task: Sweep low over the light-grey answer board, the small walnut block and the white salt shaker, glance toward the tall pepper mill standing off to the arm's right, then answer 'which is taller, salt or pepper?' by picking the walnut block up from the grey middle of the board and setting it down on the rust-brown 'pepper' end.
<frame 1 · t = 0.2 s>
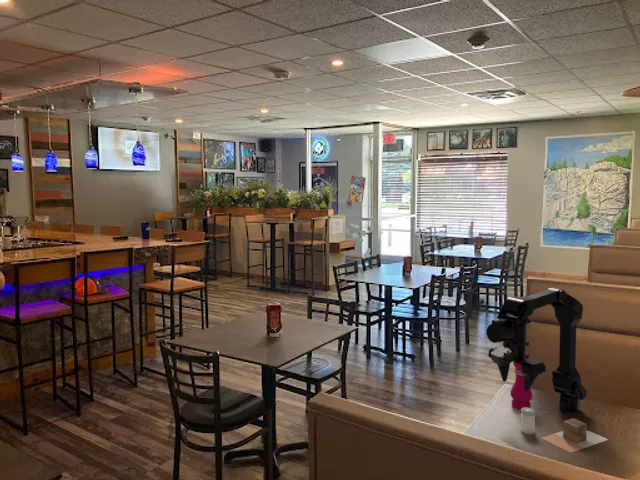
hand: (515, 386, 157), 14 cm above the table, tool pointing down, fingers open, 9 cm apart
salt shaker: (527, 434, 155), on the table
block: (574, 438, 150), point 1 cm above the table, touching answer board
answer board: (574, 442, 150), on the table
pepper mill: (521, 407, 177), on the table
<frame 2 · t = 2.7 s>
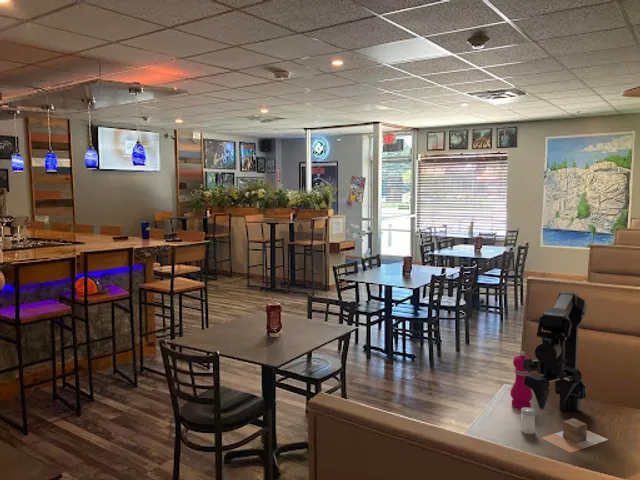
hand: (552, 405, 149), 12 cm above the table, tool pointing down, fingers open, 9 cm apart
nothing on the table moved.
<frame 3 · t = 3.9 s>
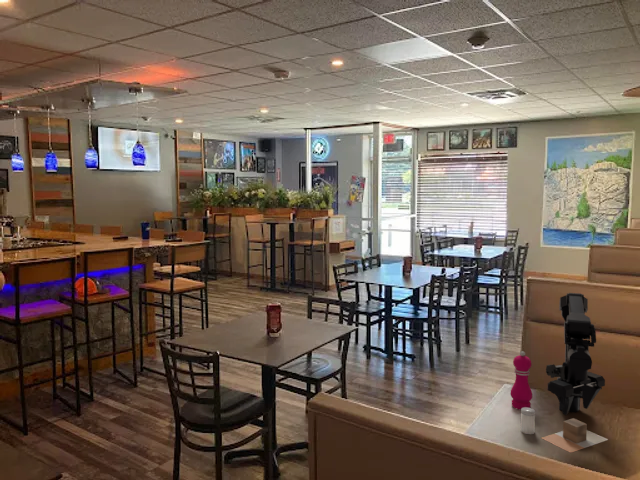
hand: (575, 411, 150), 10 cm above the table, tool pointing down, fingers open, 9 cm apart
nothing on the table moved.
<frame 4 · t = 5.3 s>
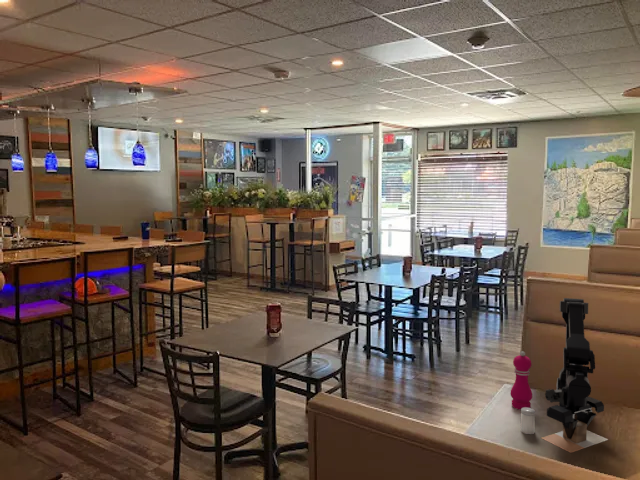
hand: (574, 436, 150), 2 cm above the table, tool pointing down, fingers closed on block, 4 cm apart
block: (574, 438, 150), point 1 cm above the table, touching answer board, gripper
everything else where it was.
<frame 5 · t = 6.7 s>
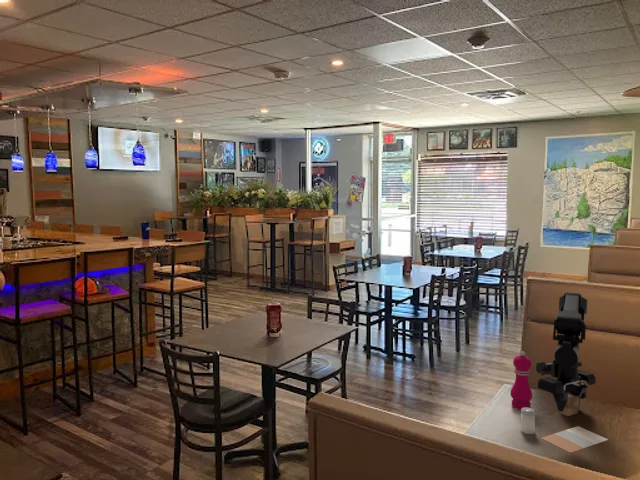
hand: (565, 409, 147), 11 cm above the table, tool pointing down, fingers closed on block, 4 cm apart
block: (565, 411, 147), point 11 cm above the table, touching gripper
everything else where it was.
when the fingers open (3 cm above the table, at t = 8.5 s): block drops 2 cm, resting on answer board.
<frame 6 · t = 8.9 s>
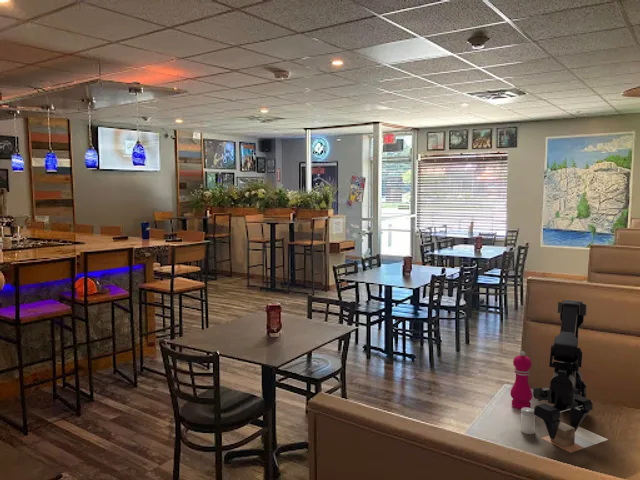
hand: (562, 435, 147), 3 cm above the table, tool pointing down, fingers open, 9 cm apart
block: (562, 442, 148), point 1 cm above the table, touching answer board
everything else where it was.
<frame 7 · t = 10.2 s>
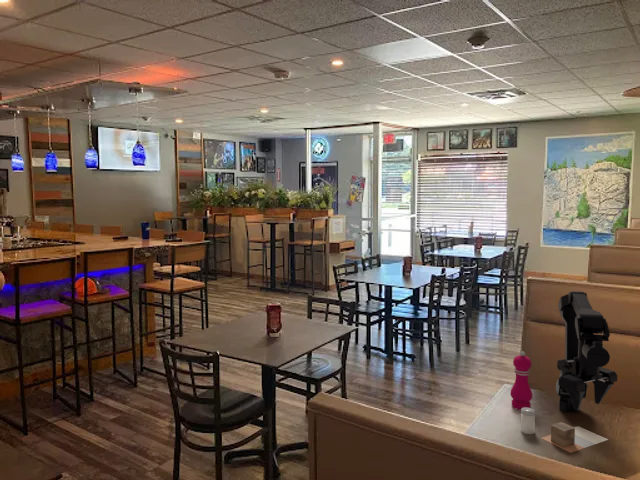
hand: (586, 406, 148), 12 cm above the table, tool pointing down, fingers open, 9 cm apart
nothing on the table moved.
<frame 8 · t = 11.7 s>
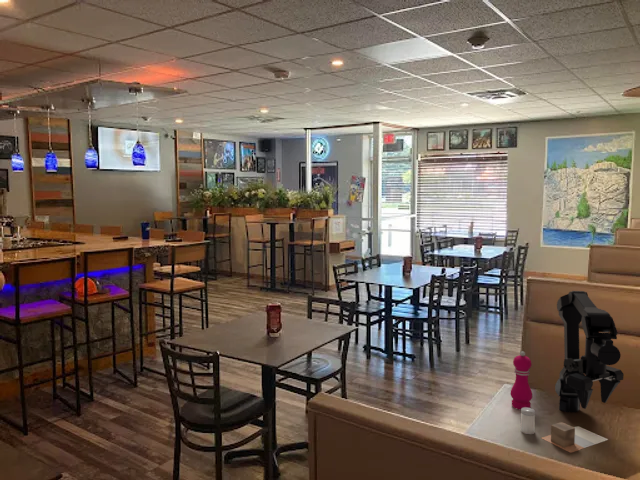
hand: (593, 405, 148), 12 cm above the table, tool pointing down, fingers open, 9 cm apart
nothing on the table moved.
at the end: block inside the target area on the answer board (0.6 cm from its centre), point 1.2 cm above the answer board's base; block tilted 0°; the gripper is holding nothing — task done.
